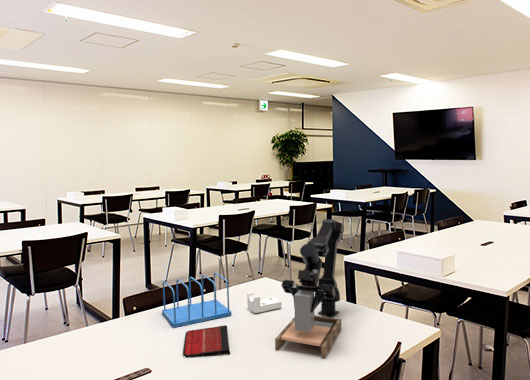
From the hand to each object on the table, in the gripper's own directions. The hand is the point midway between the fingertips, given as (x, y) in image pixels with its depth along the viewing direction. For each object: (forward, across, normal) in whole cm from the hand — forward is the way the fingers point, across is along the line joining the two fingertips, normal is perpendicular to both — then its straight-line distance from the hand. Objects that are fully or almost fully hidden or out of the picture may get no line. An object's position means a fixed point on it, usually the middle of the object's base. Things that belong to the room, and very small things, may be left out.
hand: (303, 311), depth 150 cm
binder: (+16, -34, +4) cm, 38 cm away
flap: (+5, 0, +14) cm, 14 cm away
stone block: (+4, 0, +6) cm, 7 cm away
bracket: (-11, -27, +30) cm, 42 cm away
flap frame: (+4, 0, +15) cm, 16 cm away
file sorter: (+1, -52, +19) cm, 55 cm away
